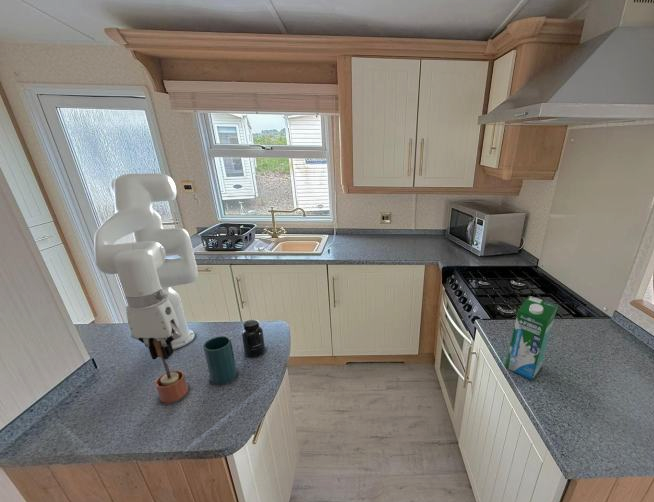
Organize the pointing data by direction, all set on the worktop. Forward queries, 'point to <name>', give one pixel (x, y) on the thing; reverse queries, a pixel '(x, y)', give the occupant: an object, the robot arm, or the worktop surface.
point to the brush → (169, 377)
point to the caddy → (172, 389)
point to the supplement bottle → (253, 338)
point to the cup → (220, 359)
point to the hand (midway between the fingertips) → (163, 355)
